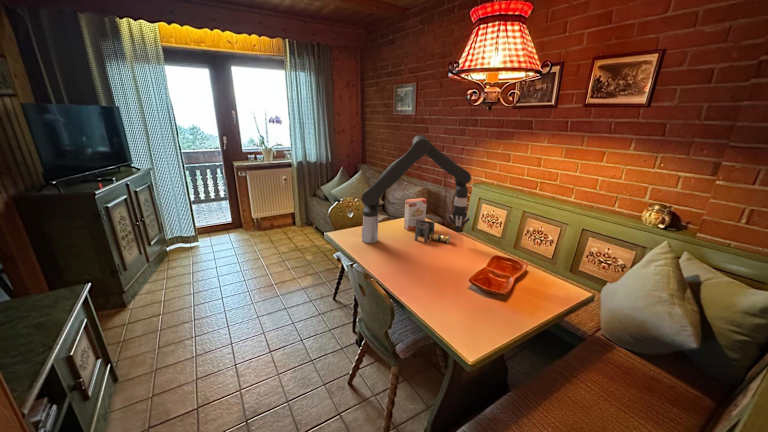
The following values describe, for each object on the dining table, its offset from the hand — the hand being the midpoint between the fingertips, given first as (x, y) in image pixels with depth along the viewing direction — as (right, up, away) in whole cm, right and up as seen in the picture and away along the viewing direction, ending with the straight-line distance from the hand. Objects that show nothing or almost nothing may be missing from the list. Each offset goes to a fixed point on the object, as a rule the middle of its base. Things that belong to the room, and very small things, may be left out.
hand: (457, 231), depth 181 cm
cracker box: (-24, +1, +27) cm, 36 cm away
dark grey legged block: (-20, -5, +10) cm, 23 cm away
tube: (-10, -7, +6) cm, 14 cm away
